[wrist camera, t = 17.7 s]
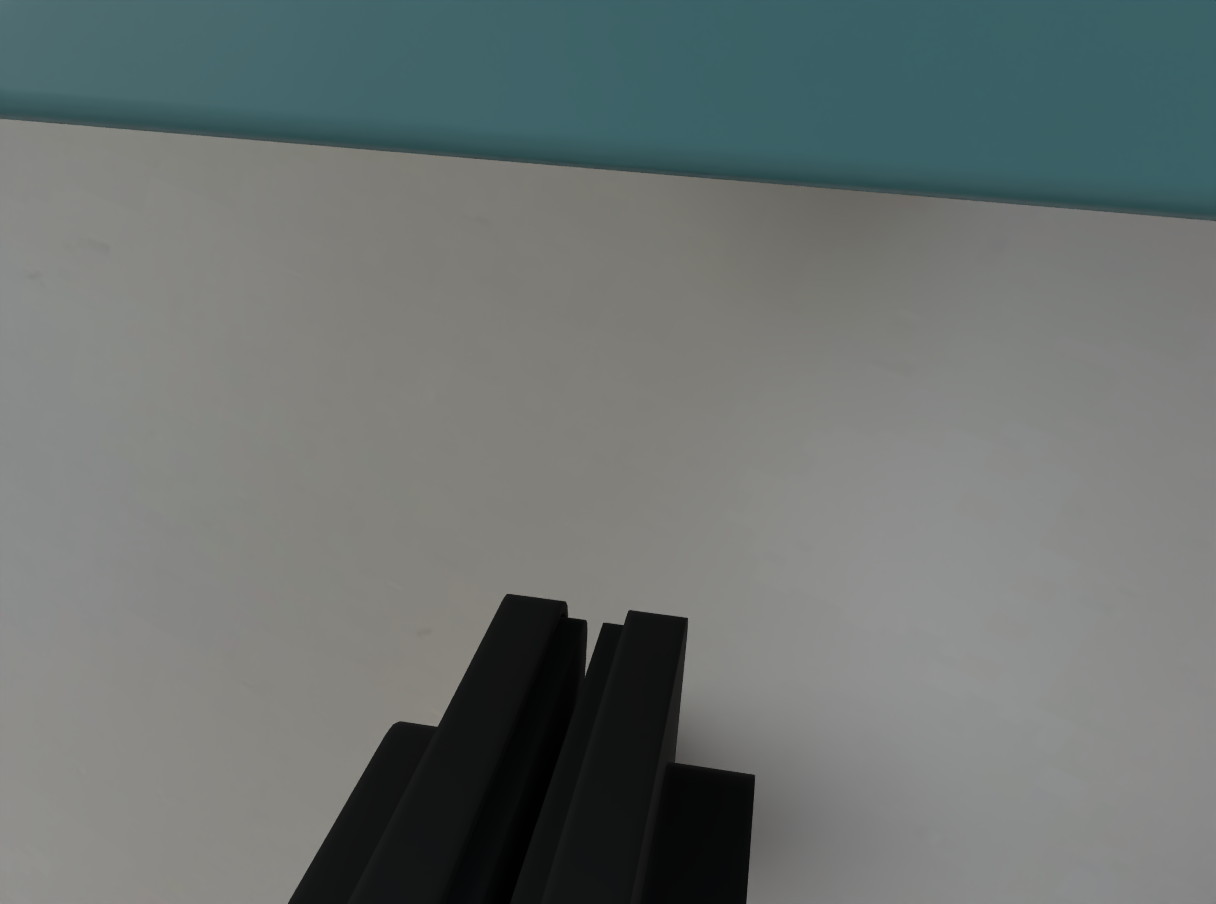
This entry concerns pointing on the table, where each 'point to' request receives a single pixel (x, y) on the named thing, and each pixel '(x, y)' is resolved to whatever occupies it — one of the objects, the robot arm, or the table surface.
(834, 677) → the table surface
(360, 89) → the cool box lid
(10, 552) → the table surface
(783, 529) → the table surface
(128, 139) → the table surface
